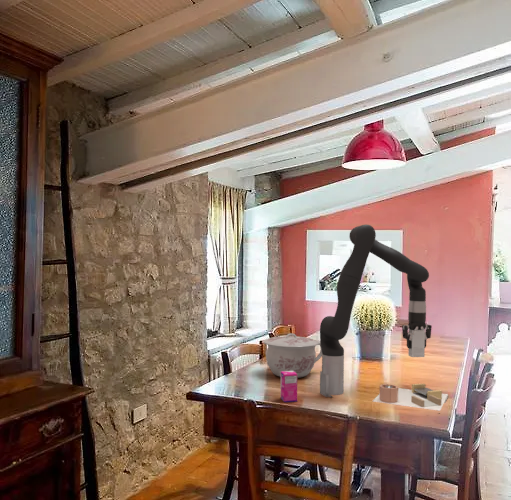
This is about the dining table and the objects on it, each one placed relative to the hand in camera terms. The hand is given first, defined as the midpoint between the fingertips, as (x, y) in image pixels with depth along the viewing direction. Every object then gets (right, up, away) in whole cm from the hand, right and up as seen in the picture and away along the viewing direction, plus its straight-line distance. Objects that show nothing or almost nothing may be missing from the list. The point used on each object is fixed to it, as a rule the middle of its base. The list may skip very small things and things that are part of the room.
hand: (416, 348), depth 236 cm
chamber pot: (-55, -18, +23) cm, 62 cm away
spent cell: (-18, -17, -22) cm, 33 cm away
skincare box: (0, -4, 0) cm, 4 cm away
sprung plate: (0, -16, -15) cm, 22 cm away
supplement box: (-59, -18, -20) cm, 64 cm away
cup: (-18, -17, -22) cm, 33 cm away
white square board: (-8, -18, -18) cm, 27 cm away
